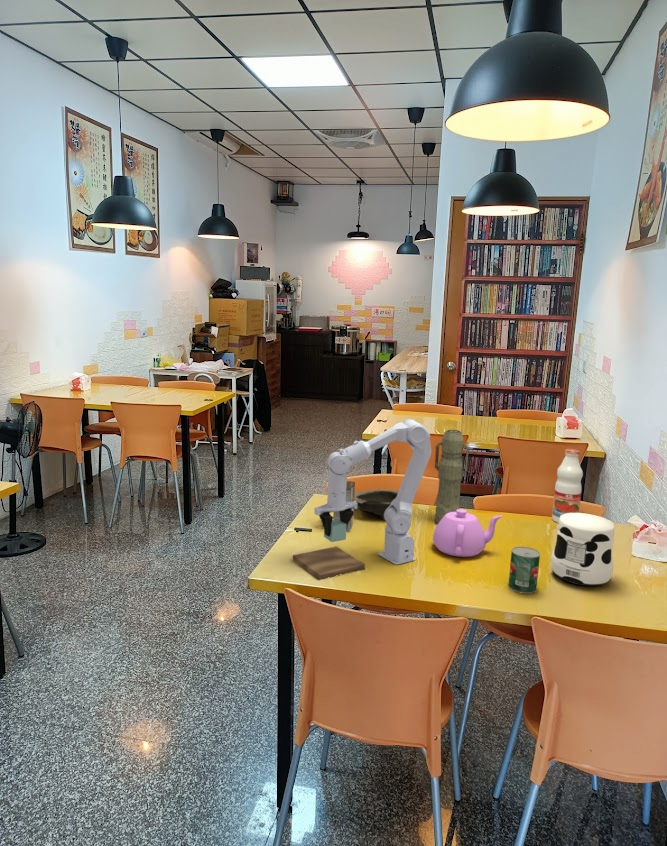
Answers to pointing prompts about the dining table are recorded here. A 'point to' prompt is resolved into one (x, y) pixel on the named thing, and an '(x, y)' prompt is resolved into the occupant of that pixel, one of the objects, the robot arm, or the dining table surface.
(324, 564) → the walnut board
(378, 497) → the stone bowl
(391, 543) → the robot arm
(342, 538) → the teal cube
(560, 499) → the fruit juice
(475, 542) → the teapot
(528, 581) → the canned tomato
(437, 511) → the thermos
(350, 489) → the coffee box
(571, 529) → the milk container
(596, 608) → the dining table surface
